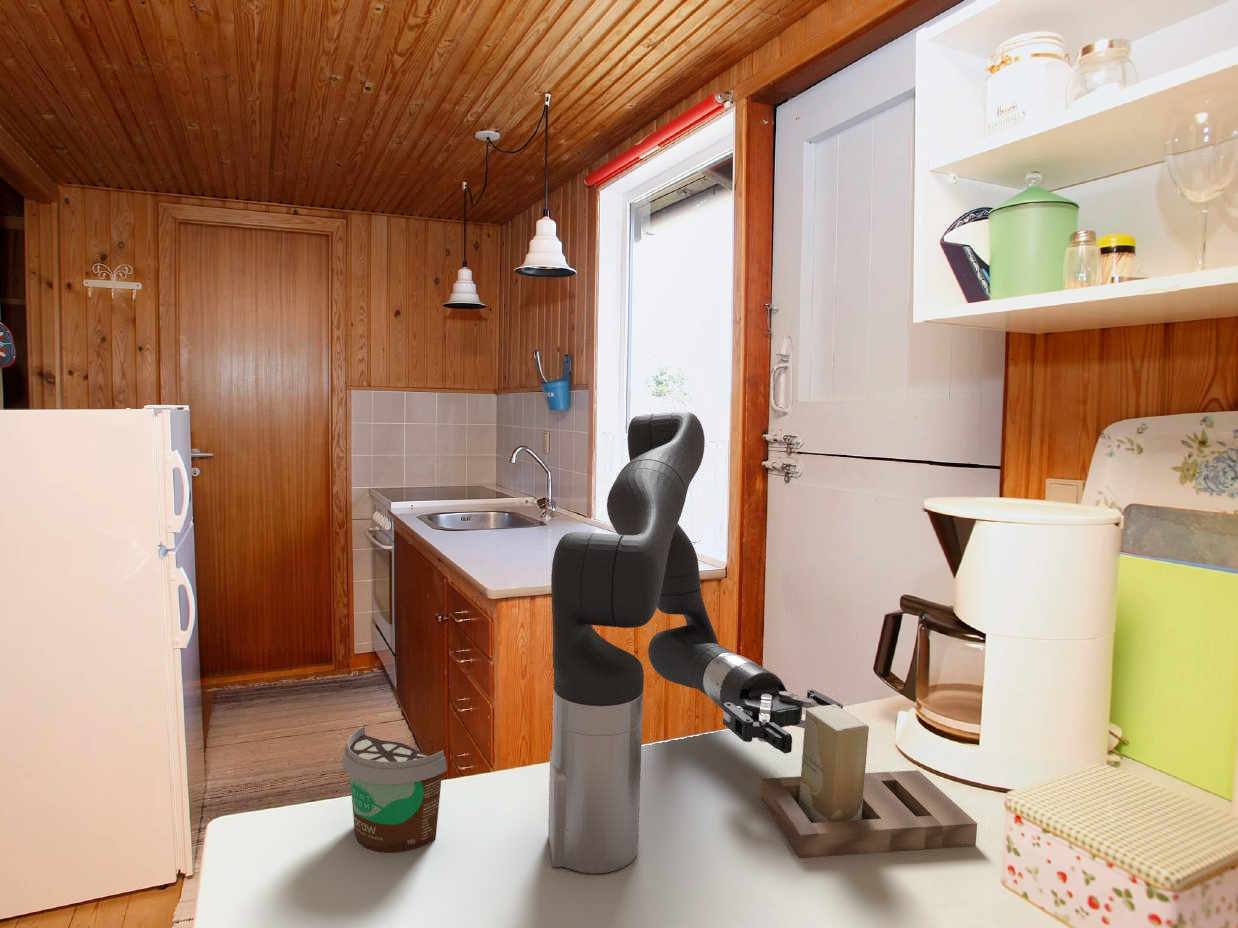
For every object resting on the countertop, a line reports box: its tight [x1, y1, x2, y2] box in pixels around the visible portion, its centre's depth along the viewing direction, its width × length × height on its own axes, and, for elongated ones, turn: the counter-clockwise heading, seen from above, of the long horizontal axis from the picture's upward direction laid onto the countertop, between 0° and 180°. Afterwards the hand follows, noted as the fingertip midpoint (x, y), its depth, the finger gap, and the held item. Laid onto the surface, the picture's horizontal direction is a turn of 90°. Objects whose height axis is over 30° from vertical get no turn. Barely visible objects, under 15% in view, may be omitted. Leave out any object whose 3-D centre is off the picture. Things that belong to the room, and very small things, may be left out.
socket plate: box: [760, 769, 978, 859], centre depth 90 cm, size 20×12×2 cm, turn 99°
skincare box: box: [799, 704, 870, 823], centre depth 89 cm, size 6×4×12 cm
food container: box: [341, 726, 448, 854], centre depth 83 cm, size 12×6×10 cm, turn 62°
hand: (820, 739), depth 91 cm, fingers open, 8 cm apart
